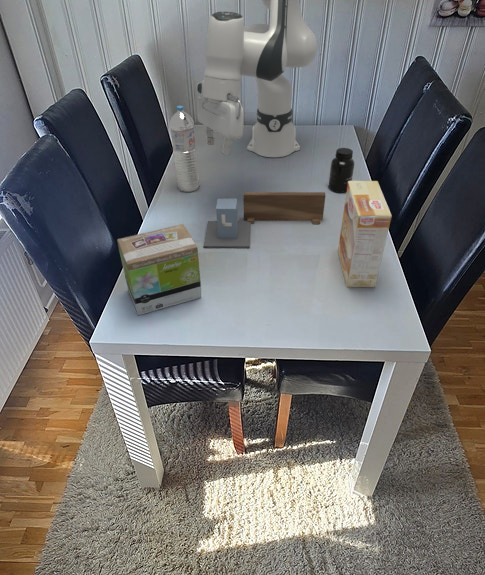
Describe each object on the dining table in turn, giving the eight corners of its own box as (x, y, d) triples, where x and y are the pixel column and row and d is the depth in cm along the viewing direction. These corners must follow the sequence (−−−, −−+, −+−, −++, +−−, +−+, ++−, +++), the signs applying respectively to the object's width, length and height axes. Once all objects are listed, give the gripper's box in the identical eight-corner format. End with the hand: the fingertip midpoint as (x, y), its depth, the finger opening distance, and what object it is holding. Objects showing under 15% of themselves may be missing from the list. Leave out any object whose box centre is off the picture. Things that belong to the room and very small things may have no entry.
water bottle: (190, 180, 144) (181, 100, 127) (204, 187, 140) (197, 106, 124) (173, 187, 140) (162, 106, 124) (187, 195, 136) (177, 112, 120)
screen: (244, 214, 128) (243, 189, 122) (321, 214, 127) (324, 189, 122) (243, 223, 124) (243, 198, 119) (323, 224, 123) (326, 198, 118)
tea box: (138, 318, 97) (125, 264, 87) (128, 290, 104) (114, 237, 94) (203, 298, 101) (197, 245, 91) (189, 273, 108) (182, 221, 98)
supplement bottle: (350, 194, 135) (356, 156, 127) (327, 192, 136) (332, 155, 128) (350, 183, 140) (356, 146, 132) (328, 181, 141) (333, 145, 133)
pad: (208, 222, 125) (207, 220, 124) (250, 222, 124) (250, 220, 124) (203, 247, 116) (203, 246, 115) (249, 248, 115) (249, 246, 115)
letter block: (219, 227, 122) (217, 198, 116) (237, 227, 121) (236, 198, 115) (218, 238, 118) (216, 209, 112) (236, 238, 117) (235, 209, 112)
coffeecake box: (336, 249, 114) (347, 180, 101) (364, 249, 114) (378, 179, 101) (345, 287, 103) (357, 215, 90) (376, 288, 103) (393, 215, 90)
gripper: (253, 98, 101) (246, 160, 108) (216, 85, 116) (212, 139, 123) (228, 97, 98) (223, 160, 105) (193, 83, 113) (191, 139, 120)
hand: (217, 149), depth 114 cm, fingers open, 8 cm apart
